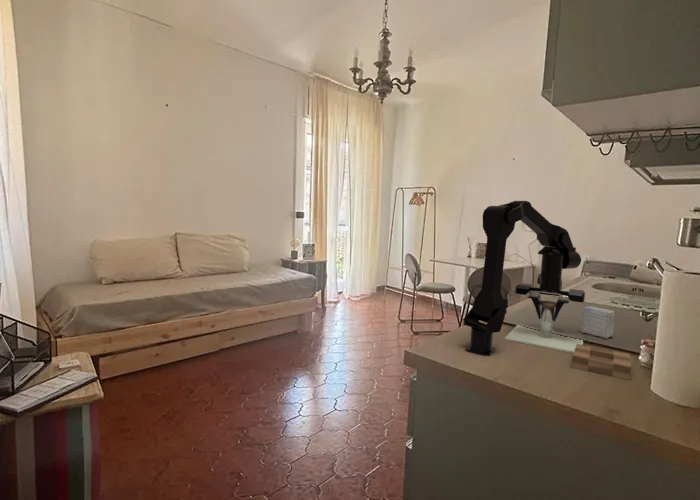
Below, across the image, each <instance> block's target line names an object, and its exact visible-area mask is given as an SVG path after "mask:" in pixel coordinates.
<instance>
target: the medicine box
mask: <svg viewBox="0 0 700 500" xmlns="http://www.w3.org/2000/svg"><path fill="white" fill-rule="evenodd" d="M615 313H616V311H614V310H610V309H605V308H600V307H596V306H590V305H589V306H585V307H583V308H582V317H581V328H580V329H581V330H580V332H581V331H584V332H588V333H592V334H596V335H600V336H604V337H609V336H612V335H614V327H615V326H614V324H615Z"/></svg>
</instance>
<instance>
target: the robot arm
mask: <svg viewBox="0 0 700 500" xmlns="http://www.w3.org/2000/svg"><path fill="white" fill-rule="evenodd" d="M519 221H520V222H521V223H523V224H524V225H526V227H528V228H529V229H531V231H533V233H535V234H536V239H537V241H538V242H539V243H540V245H541V246H542V248H541V249H540V250H539V251H538V253H537V254H538V255H541V266H540V273H539V274H537V275H538V276H537V281H536V283H537V285H538V286H539V287H534V286H533V284H532V283H526V282H525V283H523V282H520V283H518V284H517V285H515V288H514V289H515V291H514V294H516V295H522V296H523V295H524V296H526V295H528V296H527V297H528V299H530V300H531V302H532V304H533V305H534V308H535V311H536V314H537V317H538V319H539V320H541V311H542V306H541V305H540V301H542V295H545V296H553V297H558V299H557V301H556V303H557V304H556V307H555V308H554V320H553V322H556V320H557V318H558V316H559V313H561V312H560V311H561V310H562V307H564V305H565V304H569V303H570V302H574V303H575V302H576V303H584V302H585V300H586V299H585V298H586V292H585V291H584V290H583V289H582V290H580V289H573V288H570V290H569V291H566V290H562V287H563V286H562V285H563V280H562V275H563V270H568V269H572V270H573V269H576V268H578V267H580V265H581V263H582V258H581V255H580V254H579V252H577V251H576V250H577V247H576V246H575V247H574V245H573V242H572V239H571V237H570V234H569V231H568V229H565V228H564V227H562V226H560V225H556V224H554V223H552V222H551V221H549V220H548V219H547V218H546V217H544V216H543V214H541V213H540V212H539V211H538V210H537V209H536V208H534V207H533V206H532V203H531V201H528V200H513V201H510V202H508V203H504V204H499V205H489V206H487V207H486V208H485V209H484V210H483V213H482V228H483V231H484V233H485V236H486V245H485V246H486V247H485V255H484V264H483V272H482V279H481V280H482V281H481V289H480V290H479V292H478V293H477V294H476V296H475V297H474V299H473V304H472V307H471V308H470V310H469V311H468V313H467V314H466V315H465V317H463V323H464V326H467V327H469V328H470V337H469V338H470V341H469V345H468V346H467V347H466V348H465V351H466V352H470V353H475V354H478V355H484V356H489V357H490V356H491V355H492V354H493V352H495V350H496V347H493V338H494V337H493V335H494V334H495V333H500V332H501V330H502V327H503V324H504V320H505V317H506V315H507V313H508V311H507V308H508V307H507V306H508V298H505V297H503V295H502V293H501V292H502V291H501V289H502V280H503V273H504V264H505V256H506V247H507V239H509V237H510V236H511V234H513V232H514V231H515V227H516V223H517V222H519Z"/></svg>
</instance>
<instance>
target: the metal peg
mask: <svg viewBox="0 0 700 500" xmlns="http://www.w3.org/2000/svg"><path fill="white" fill-rule="evenodd" d="M556 304H557V301H556V302H555V301H550V300H541V301H540V305H541V319H540V324H539V325H540V326H539V328H540V333H543V334H552V332H553V330H554V313H555V309H556Z"/></svg>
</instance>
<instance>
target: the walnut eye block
mask: <svg viewBox="0 0 700 500" xmlns="http://www.w3.org/2000/svg"><path fill="white" fill-rule="evenodd" d="M630 356H631V354H630V353H628V352H623V351H617V350H614V349H613V350H611V349H607V348H601V347H595V346H591V345H584V344H583V345H580V344H576V348H575V351H574V353H572V361H571V369H576V370H582V371H586V372H591V373H596V374H599V375H604V376H609V377H614V378H618V379H624V380H627V381H628V380H629V381H630V379H631V372H632V364H631V363H632V362H631V357H630Z"/></svg>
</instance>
